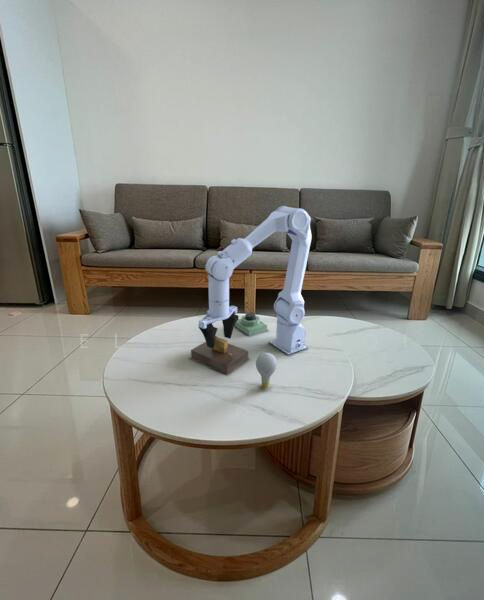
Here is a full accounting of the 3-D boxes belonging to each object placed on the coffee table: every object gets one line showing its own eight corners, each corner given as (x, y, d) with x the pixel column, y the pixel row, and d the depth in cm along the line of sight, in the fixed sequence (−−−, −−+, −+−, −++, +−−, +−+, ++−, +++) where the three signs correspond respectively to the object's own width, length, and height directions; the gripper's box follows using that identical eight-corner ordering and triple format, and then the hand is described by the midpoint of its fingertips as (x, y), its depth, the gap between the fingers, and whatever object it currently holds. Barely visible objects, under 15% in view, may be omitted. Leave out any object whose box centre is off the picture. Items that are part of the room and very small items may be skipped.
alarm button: (257, 319, 116) (257, 315, 116) (249, 321, 114) (249, 317, 114) (251, 316, 119) (251, 312, 118) (243, 318, 117) (243, 314, 116)
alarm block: (267, 330, 116) (267, 320, 115) (248, 336, 112) (249, 325, 111) (251, 321, 124) (251, 311, 123) (233, 325, 120) (233, 315, 118)
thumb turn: (227, 351, 95) (227, 340, 94) (224, 353, 94) (224, 342, 93) (215, 346, 98) (214, 335, 97) (211, 348, 97) (211, 337, 95)
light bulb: (250, 388, 84) (251, 354, 80) (263, 379, 88) (265, 346, 84) (266, 396, 81) (268, 362, 77) (279, 387, 85) (282, 354, 81)
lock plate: (248, 359, 97) (248, 350, 96) (227, 374, 90) (227, 364, 88) (213, 345, 105) (213, 337, 104) (191, 358, 97) (190, 349, 96)
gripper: (224, 289, 98) (224, 329, 103) (190, 302, 87) (192, 347, 92) (243, 294, 94) (242, 336, 99) (209, 309, 83) (210, 355, 88)
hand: (219, 342), depth 95 cm, fingers open, 7 cm apart
